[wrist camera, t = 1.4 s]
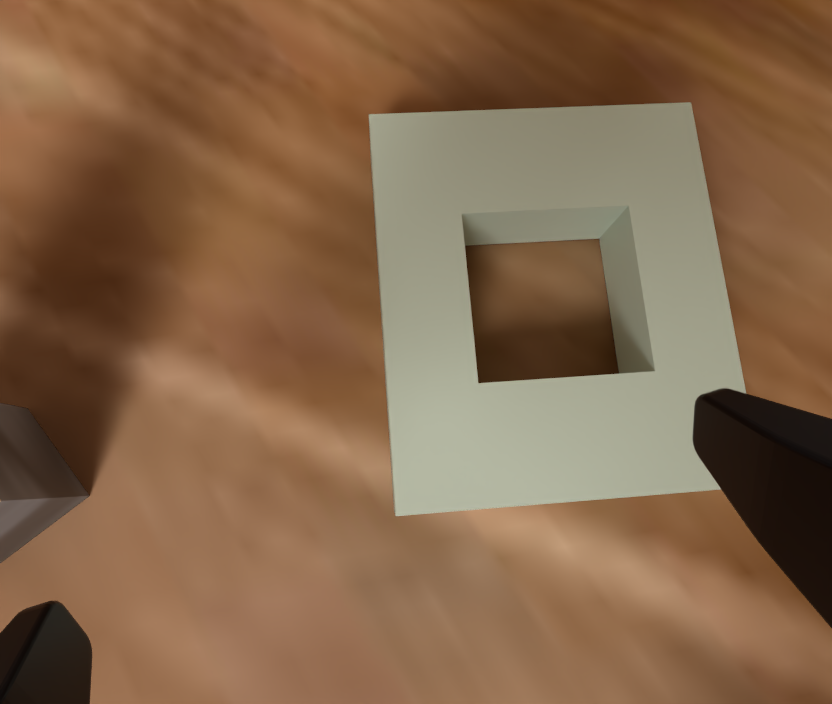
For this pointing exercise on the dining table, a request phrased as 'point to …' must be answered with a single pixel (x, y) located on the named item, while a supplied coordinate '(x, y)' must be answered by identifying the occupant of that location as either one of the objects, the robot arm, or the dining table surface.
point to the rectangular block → (30, 480)
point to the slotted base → (626, 289)
